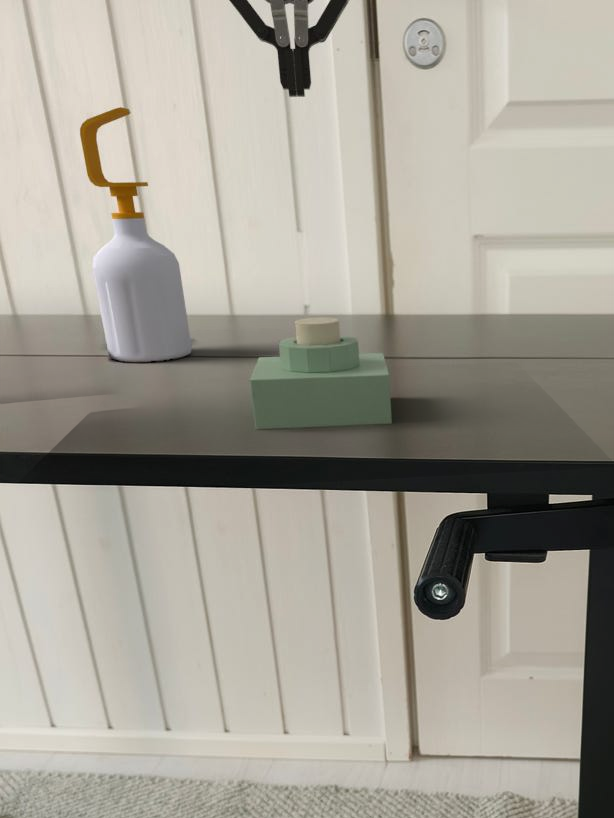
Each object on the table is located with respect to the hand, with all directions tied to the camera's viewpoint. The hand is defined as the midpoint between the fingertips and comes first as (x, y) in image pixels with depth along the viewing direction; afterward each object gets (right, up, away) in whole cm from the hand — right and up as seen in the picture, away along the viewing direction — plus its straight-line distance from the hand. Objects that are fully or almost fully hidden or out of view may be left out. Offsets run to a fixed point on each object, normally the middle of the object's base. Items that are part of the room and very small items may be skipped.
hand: (297, 95), depth 86 cm
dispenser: (+4, -32, -8) cm, 33 cm away
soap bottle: (-20, -19, +18) cm, 33 cm away
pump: (+4, -27, -10) cm, 29 cm away
